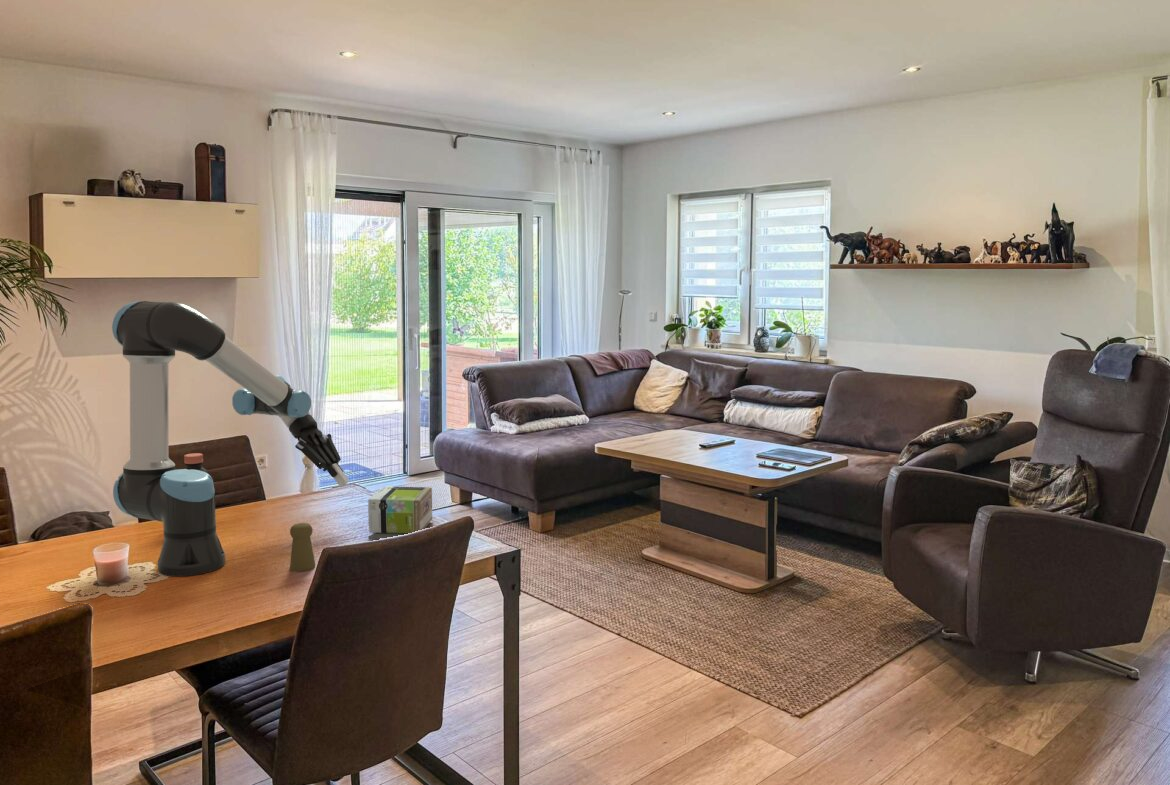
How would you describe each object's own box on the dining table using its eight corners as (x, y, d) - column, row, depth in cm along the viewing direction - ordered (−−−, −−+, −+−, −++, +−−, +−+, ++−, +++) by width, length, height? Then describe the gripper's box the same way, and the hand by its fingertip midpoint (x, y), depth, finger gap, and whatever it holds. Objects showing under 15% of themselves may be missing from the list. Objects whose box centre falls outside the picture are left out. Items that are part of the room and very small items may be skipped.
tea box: (368, 534, 235) (421, 534, 234) (367, 498, 234) (420, 499, 233) (384, 518, 250) (434, 519, 249) (383, 485, 249) (432, 486, 248)
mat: (398, 543, 229) (398, 540, 229) (368, 538, 233) (368, 536, 233) (428, 529, 242) (428, 527, 242) (399, 524, 246) (399, 522, 246)
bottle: (214, 519, 250) (211, 452, 247) (201, 526, 243) (198, 457, 241) (192, 518, 251) (188, 452, 248) (179, 525, 244) (175, 456, 241)
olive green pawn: (288, 572, 206) (287, 528, 204) (290, 564, 211) (288, 521, 210) (315, 570, 207) (313, 526, 206) (316, 562, 213) (314, 519, 212)
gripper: (308, 426, 256) (353, 486, 251) (275, 432, 244) (321, 496, 239) (321, 410, 253) (367, 471, 248) (289, 416, 241) (335, 480, 236)
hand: (344, 483), depth 244 cm, fingers closed
